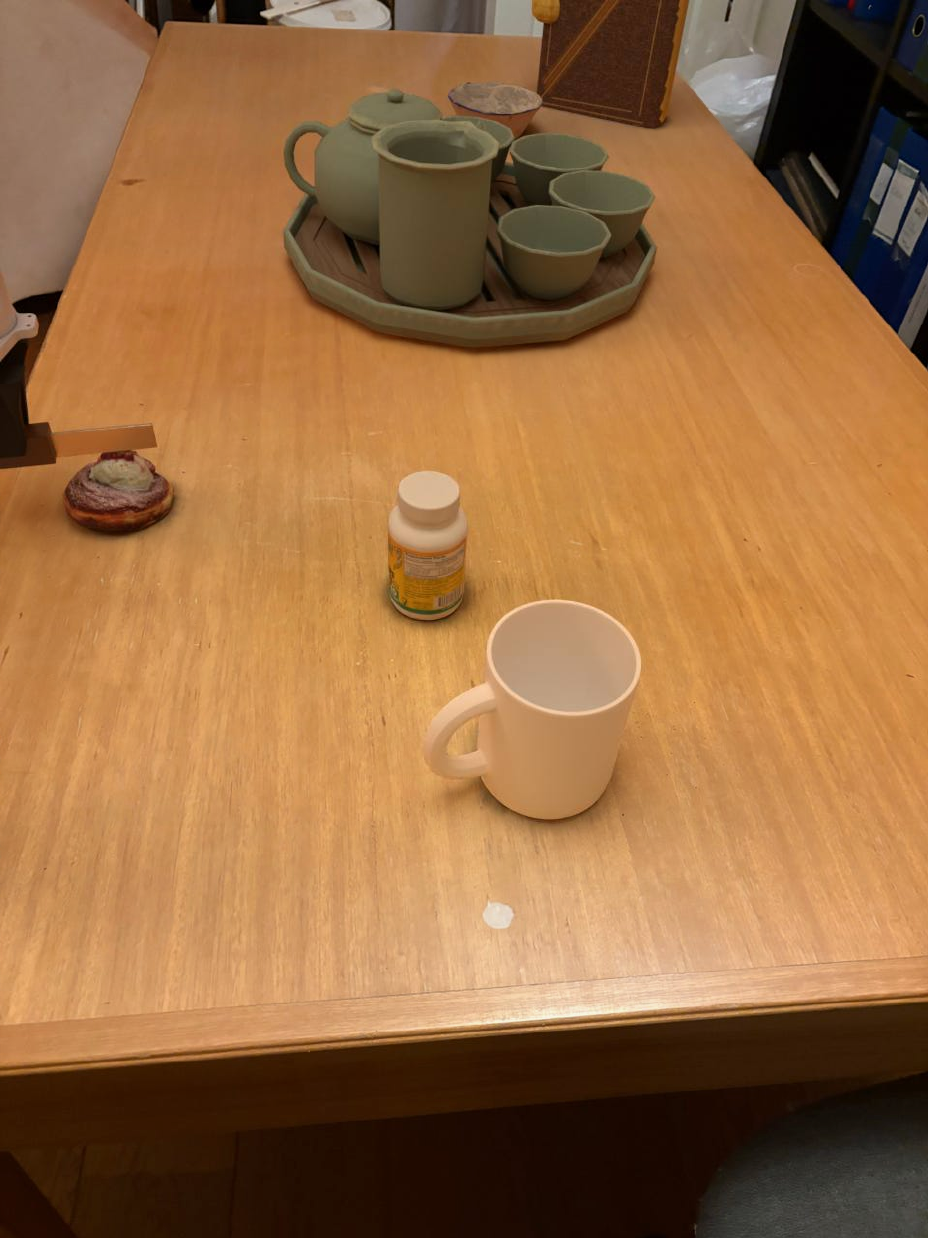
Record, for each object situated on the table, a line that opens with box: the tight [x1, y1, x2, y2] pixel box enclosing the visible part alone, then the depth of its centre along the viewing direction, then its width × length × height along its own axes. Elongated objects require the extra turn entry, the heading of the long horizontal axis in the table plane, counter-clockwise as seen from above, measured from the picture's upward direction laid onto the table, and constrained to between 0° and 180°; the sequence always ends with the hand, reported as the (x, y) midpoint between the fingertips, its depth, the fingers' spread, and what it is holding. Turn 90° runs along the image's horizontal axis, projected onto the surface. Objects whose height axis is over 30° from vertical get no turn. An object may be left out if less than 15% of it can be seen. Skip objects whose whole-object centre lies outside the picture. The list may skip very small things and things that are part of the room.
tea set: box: [282, 88, 658, 349], centre depth 97 cm, size 40×40×16 cm
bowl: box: [447, 81, 543, 140], centre depth 129 cm, size 13×13×5 cm
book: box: [531, 0, 690, 129], centre depth 131 cm, size 22×8×25 cm, turn 65°
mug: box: [422, 599, 642, 820], centre depth 52 cm, size 12×8×10 cm
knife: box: [0, 421, 158, 470], centre depth 66 cm, size 12×2×2 cm, turn 104°
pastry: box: [62, 450, 174, 532], centre depth 70 cm, size 8×8×5 cm
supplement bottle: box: [387, 470, 469, 621], centre depth 63 cm, size 5×5×10 cm
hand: (12, 444), depth 66 cm, fingers closed on knife, 2 cm apart
